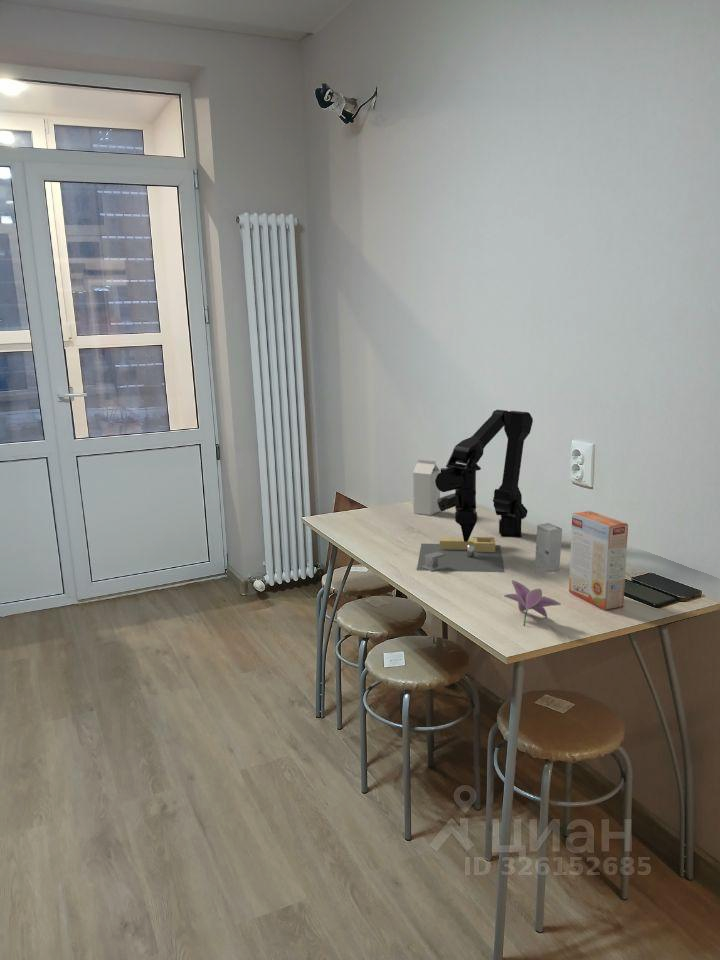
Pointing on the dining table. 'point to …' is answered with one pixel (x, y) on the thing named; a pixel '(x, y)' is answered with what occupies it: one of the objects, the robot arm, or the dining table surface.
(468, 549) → the cylinder
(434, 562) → the keeper
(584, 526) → the cracker box
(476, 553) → the mat
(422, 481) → the milk carton
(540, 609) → the lily
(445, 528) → the dining table surface
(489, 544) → the link
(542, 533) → the skincare box
